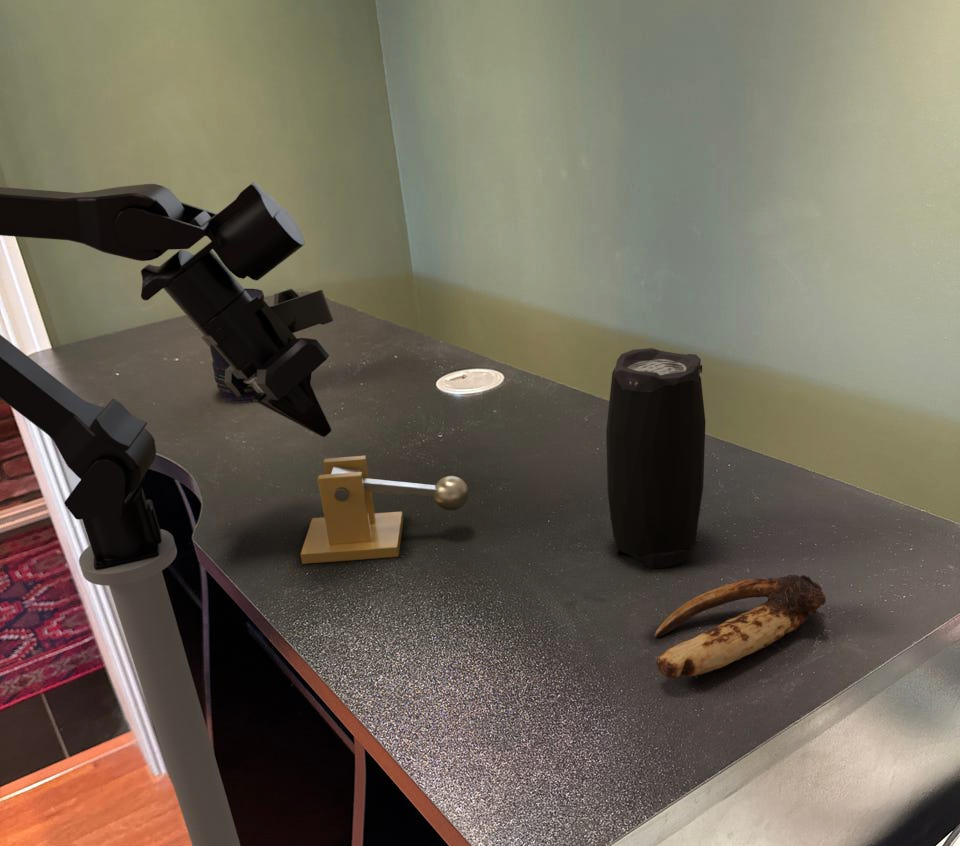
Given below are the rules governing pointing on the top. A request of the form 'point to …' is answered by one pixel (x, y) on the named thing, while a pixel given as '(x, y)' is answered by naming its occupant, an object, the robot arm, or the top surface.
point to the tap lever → (419, 489)
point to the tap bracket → (350, 519)
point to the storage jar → (222, 365)
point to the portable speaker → (655, 454)
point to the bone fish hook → (739, 623)
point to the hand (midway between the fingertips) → (327, 433)
